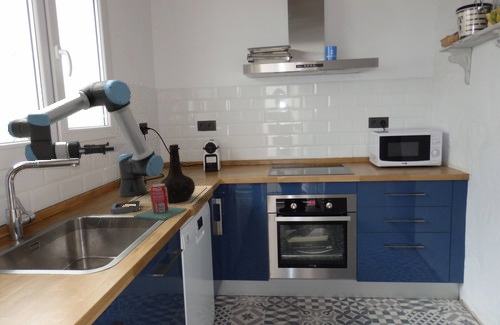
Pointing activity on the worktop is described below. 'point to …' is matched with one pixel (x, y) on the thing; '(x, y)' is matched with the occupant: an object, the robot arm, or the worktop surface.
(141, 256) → the worktop surface
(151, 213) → the mat
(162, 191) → the soda can
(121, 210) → the gray square tray
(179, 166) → the glass bottle
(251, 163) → the worktop surface
